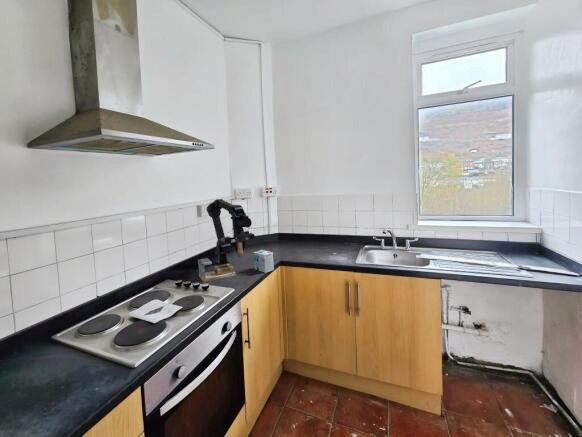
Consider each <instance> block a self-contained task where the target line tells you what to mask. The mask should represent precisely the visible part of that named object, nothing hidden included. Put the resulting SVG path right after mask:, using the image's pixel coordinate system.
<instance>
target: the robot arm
mask: <svg viewBox="0 0 582 437" xmlns="http://www.w3.org/2000/svg"><path fill="white" fill-rule="evenodd" d="M222 209H223V210H226V211H227V213H228V214H229V215H230V217H229V219H230V220H232V232H233V234H232V236H229V235H228V236H226V235H225V231H224V228H223V224H222V220H221V217H220V216H221V213H222ZM206 212H207V214H208V216H209V217H210V218H211V220H212V223H213V224H212V225H213V227H214V231H215V235H216V239H217V241H216V243H215V244H216V247H215V250H214V255H215V256H218V257H217V258H218V261H217V263H218V265H224V264H230V261H229V260H228V259H229V258H228V254H230V253H231V244H232V246H233V248H234V250H235V252H236V253H237V245H236V243H238V242H237V241H239V242H242V245H243V252H244V251H245V247H246V245H247V242H249V241H250V240H253V239H256V235H255V234H254V233H252V232H250V231H249V230H244V228H250V227H252V225H253V224H252V222H253V221H252V219H251V218H250V217H249V215H247V214H246V211H245V210H244V208H243V206H242V205H241V204H232V203H230V202H228V201H225V199H222V198H218V199H214V201H213V202H211V203H209V204H208V205H207V206H206Z"/></svg>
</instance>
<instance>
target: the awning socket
mask: <svg viewBox="0 0 582 437" xmlns="http://www.w3.org/2000/svg"><path fill="white" fill-rule="evenodd" d="M197 264H198V276H199V278H200V280H201V281H202V283H207V282H212V281H216V280H221V279H225V278H230V277H235V276H237V272H236V271H235V267H234V266H233V265H232V264H231V263H225V264H218V265H215V266H213V270H212V271H205V270H206V269H205V266H209V265H212V264H213V262H212V261H211V260H210V259H209V257H205V258H200V259H197Z"/></svg>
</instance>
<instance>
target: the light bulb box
mask: <svg viewBox="0 0 582 437" xmlns="http://www.w3.org/2000/svg"><path fill="white" fill-rule="evenodd" d="M253 265H254V270H256V271H259V272H262V273H265V274H266V273H269V272H272V271H274V270H275V266H274V252H273V251H269V250H264V249H260V250H256V251H253Z"/></svg>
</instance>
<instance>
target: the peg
mask: <svg viewBox="0 0 582 437" xmlns="http://www.w3.org/2000/svg"><path fill="white" fill-rule="evenodd" d="M236 245H237V252H236V254H237V255H236V256H237V257H241V258H242V257H244V251H243V245H242V241H239V242H237V243H236Z"/></svg>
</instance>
